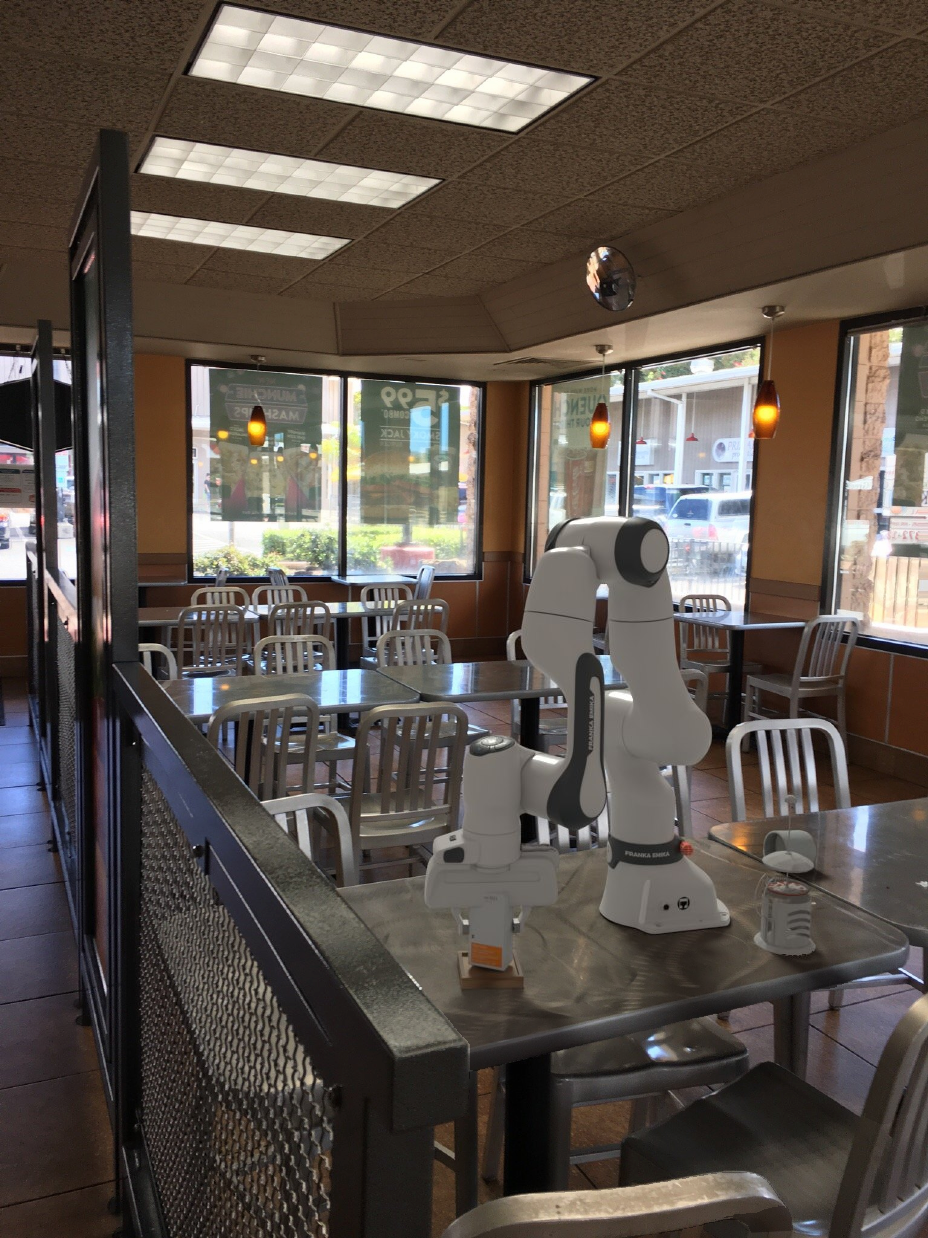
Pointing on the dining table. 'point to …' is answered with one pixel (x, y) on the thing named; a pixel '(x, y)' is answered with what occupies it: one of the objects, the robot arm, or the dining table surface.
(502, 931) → the skincare box
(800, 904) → the french press
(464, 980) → the walnut tray
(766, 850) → the ceramic mug
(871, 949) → the dining table surface
